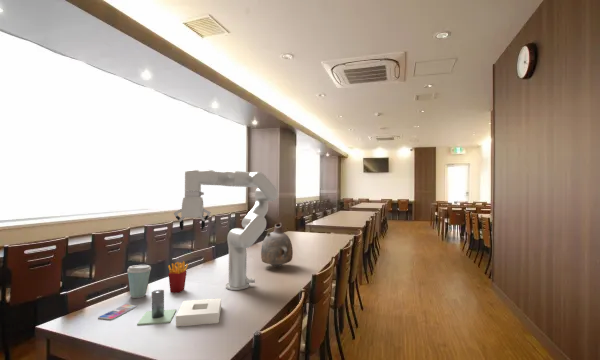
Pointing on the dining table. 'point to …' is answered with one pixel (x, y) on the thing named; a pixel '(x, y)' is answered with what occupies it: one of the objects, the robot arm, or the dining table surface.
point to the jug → (276, 247)
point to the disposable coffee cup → (138, 280)
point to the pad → (165, 319)
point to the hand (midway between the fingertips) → (192, 229)
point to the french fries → (177, 277)
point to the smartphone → (117, 312)
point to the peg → (157, 303)
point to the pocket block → (199, 312)
